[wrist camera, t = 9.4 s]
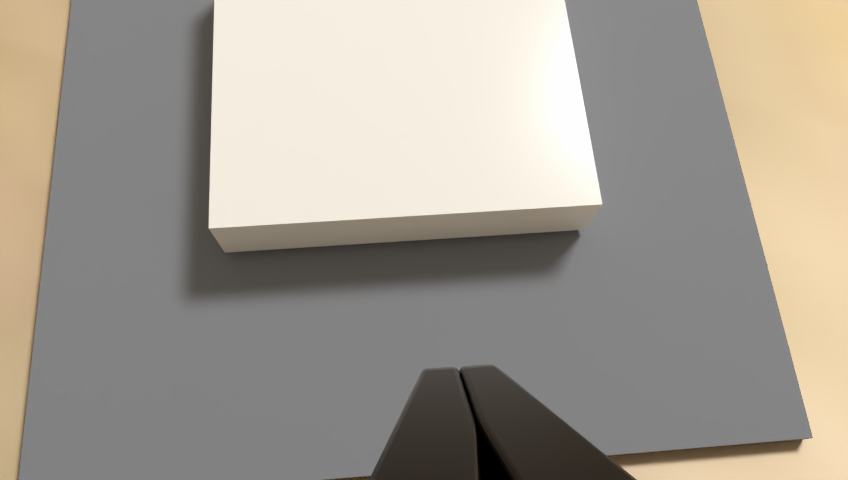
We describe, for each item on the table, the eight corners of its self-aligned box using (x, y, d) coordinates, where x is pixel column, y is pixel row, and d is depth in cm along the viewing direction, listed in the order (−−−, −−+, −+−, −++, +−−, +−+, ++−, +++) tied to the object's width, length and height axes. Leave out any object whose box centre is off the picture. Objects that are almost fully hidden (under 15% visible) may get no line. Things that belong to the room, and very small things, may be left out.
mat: (804, 439, 19) (812, 438, 18) (23, 505, 17) (15, 505, 17) (656, -130, 26) (660, -139, 25) (89, -113, 24) (85, -123, 24)
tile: (602, 204, 18) (551, -69, 21) (208, 228, 18) (215, -57, 21) (582, 232, 20) (539, -23, 23) (226, 254, 19) (230, -11, 23)
